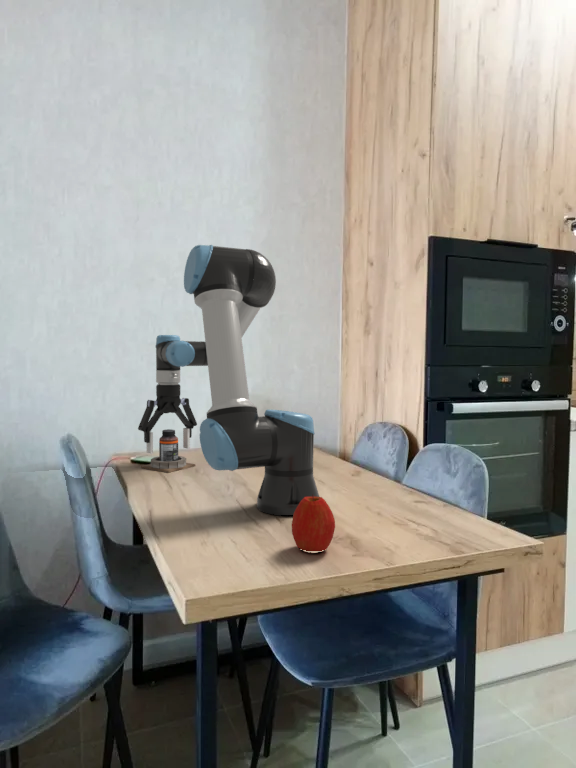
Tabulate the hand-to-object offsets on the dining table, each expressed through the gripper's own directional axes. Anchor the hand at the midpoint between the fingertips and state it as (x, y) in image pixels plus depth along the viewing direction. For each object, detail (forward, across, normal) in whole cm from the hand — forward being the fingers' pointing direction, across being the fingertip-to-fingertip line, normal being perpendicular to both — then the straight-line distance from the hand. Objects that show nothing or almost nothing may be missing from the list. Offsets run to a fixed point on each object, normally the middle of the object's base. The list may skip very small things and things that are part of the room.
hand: (168, 450), depth 174 cm
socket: (+5, 0, 0) cm, 5 cm away
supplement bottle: (+5, 0, 0) cm, 5 cm away
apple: (+5, -16, -82) cm, 84 cm away
